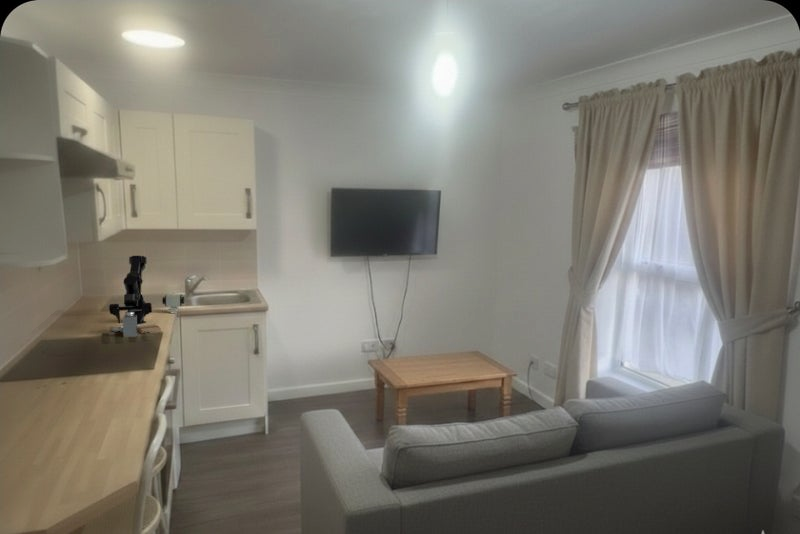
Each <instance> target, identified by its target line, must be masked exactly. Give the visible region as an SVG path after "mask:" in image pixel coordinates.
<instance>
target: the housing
mask: <svg viewBox="0 0 800 534" xmlns="http://www.w3.org/2000/svg"><path fill="white" fill-rule="evenodd" d="M122 325H123V332H122V333H123V338H134V337H137V336H138V331H137V326H138V324H137V315H135V314H134V311H128V310H126V311H125V313H124V315H123V317H122Z"/></svg>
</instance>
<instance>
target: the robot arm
mask: <svg viewBox="0 0 800 534" xmlns="http://www.w3.org/2000/svg"><path fill="white" fill-rule="evenodd" d="M147 263H148V259H147V256H144V255H131V256H128V264H129V265H130V269H129V272H128V273H127V274H126V277H125V278H124V279H123V285H124V288H125V294H124V297H123V299H124V300H123V304H124V305H119V303H110V304H109V305H108V309H109V314H110V315H112V316H115V317H116V319H117V321H118V322H117V323H118V324H121V314H120V311H134V314H135V315H137V325H140V324H144V323H147V321H146V320H144V319H145V317H146V316H147V315H149V314H151V313H153V307H152V303H151V302H146V301H145V300H144V296H143V294H142V285H143V283H144V282H143V281H144V280H143V277H142V276H143V271H144V270H145V268H146V265H147Z"/></svg>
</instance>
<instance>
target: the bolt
mask: <svg viewBox="0 0 800 534" xmlns="http://www.w3.org/2000/svg"><path fill="white" fill-rule="evenodd" d="M109 331H110V332H112V333H119V332H118V331H121V332H120V333H124V332H123V324H122V325H121V326H119V327H118V326H110V327H109Z"/></svg>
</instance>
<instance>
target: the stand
mask: <svg viewBox="0 0 800 534" xmlns="http://www.w3.org/2000/svg"><path fill="white" fill-rule="evenodd" d="M161 329H162V327H160V326H159V325H157V324H155V323H154V324H148V325H140V326H138V325H137V332H139V334H141V333H142V332H144V331H147V332H150V333H149V334H151V333H152V334H153V333H160V332H162V331H161Z"/></svg>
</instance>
